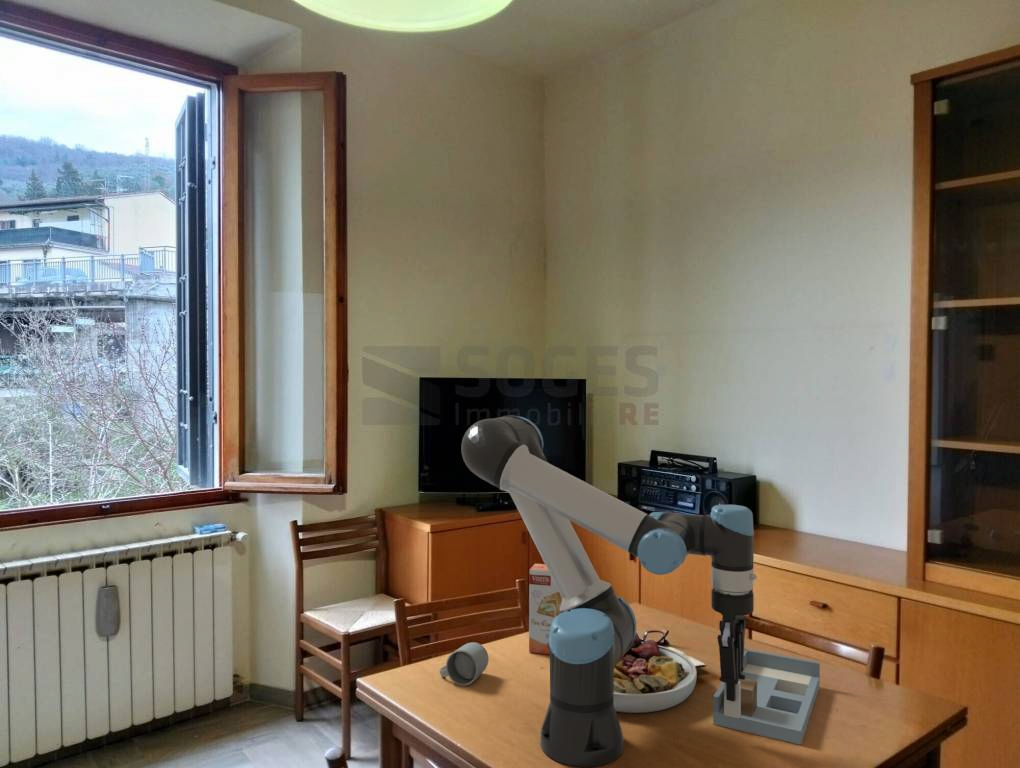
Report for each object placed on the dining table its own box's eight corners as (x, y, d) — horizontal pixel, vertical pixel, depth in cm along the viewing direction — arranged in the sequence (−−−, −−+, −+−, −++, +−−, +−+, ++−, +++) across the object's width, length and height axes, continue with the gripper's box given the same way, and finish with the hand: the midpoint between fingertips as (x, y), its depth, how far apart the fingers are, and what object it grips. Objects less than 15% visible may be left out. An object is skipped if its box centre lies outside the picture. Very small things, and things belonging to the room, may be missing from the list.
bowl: (700, 726, 140) (700, 686, 140) (547, 712, 146) (547, 673, 146) (693, 665, 169) (693, 632, 169) (566, 655, 175) (566, 623, 175)
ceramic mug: (490, 673, 164) (490, 639, 164) (477, 688, 156) (476, 652, 156) (448, 668, 168) (447, 635, 168) (433, 682, 160) (432, 647, 160)
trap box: (800, 745, 132) (801, 715, 132) (713, 724, 140) (713, 696, 140) (819, 687, 156) (819, 662, 156) (743, 672, 164) (743, 648, 164)
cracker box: (528, 653, 176) (528, 568, 175) (534, 644, 181) (534, 562, 181) (584, 660, 172) (584, 573, 171) (589, 651, 177) (589, 566, 177)
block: (751, 716, 138) (752, 690, 138) (725, 710, 140) (725, 685, 140) (757, 706, 142) (757, 681, 142) (731, 700, 145) (731, 675, 145)
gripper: (745, 601, 126) (745, 735, 127) (760, 583, 138) (760, 705, 138) (703, 595, 130) (703, 725, 130) (720, 577, 141) (720, 697, 142)
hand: (732, 715), depth 134 cm, fingers closed
